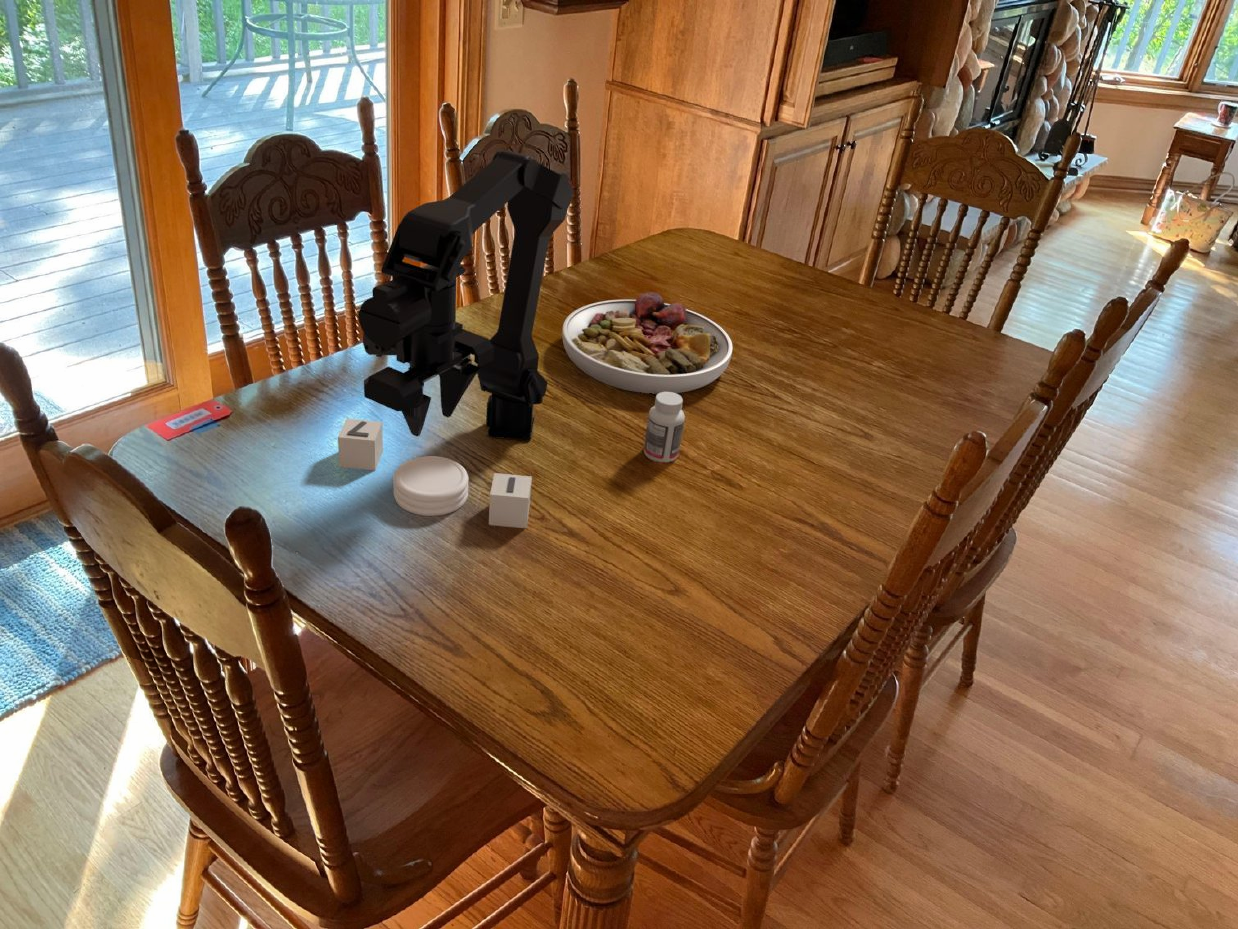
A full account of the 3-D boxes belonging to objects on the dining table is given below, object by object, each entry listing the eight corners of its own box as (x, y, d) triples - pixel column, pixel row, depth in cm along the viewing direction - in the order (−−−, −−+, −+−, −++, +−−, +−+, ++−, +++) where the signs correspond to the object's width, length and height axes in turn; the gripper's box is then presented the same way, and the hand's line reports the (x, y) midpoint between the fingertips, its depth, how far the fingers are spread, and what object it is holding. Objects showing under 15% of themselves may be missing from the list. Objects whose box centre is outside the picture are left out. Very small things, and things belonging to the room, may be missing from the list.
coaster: (386, 480, 135) (386, 459, 133) (457, 471, 139) (457, 450, 137) (402, 523, 127) (402, 501, 126) (476, 511, 131) (477, 490, 129)
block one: (529, 506, 133) (531, 475, 130) (526, 528, 129) (528, 496, 126) (493, 503, 133) (494, 471, 130) (488, 525, 129) (490, 493, 126)
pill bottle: (670, 442, 151) (679, 387, 146) (683, 461, 147) (693, 405, 142) (637, 446, 149) (645, 390, 144) (650, 465, 145) (659, 408, 140)
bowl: (734, 411, 162) (742, 369, 158) (554, 392, 161) (557, 349, 156) (721, 332, 187) (728, 294, 183) (566, 315, 186) (569, 277, 182)
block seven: (383, 451, 140) (382, 420, 138) (375, 470, 136) (374, 439, 133) (348, 448, 140) (346, 417, 137) (339, 467, 136) (337, 435, 133)
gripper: (429, 275, 128) (429, 379, 137) (326, 320, 114) (333, 432, 123) (498, 300, 124) (493, 406, 133) (399, 350, 110) (401, 464, 119)
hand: (431, 425), depth 127 cm, fingers open, 6 cm apart
